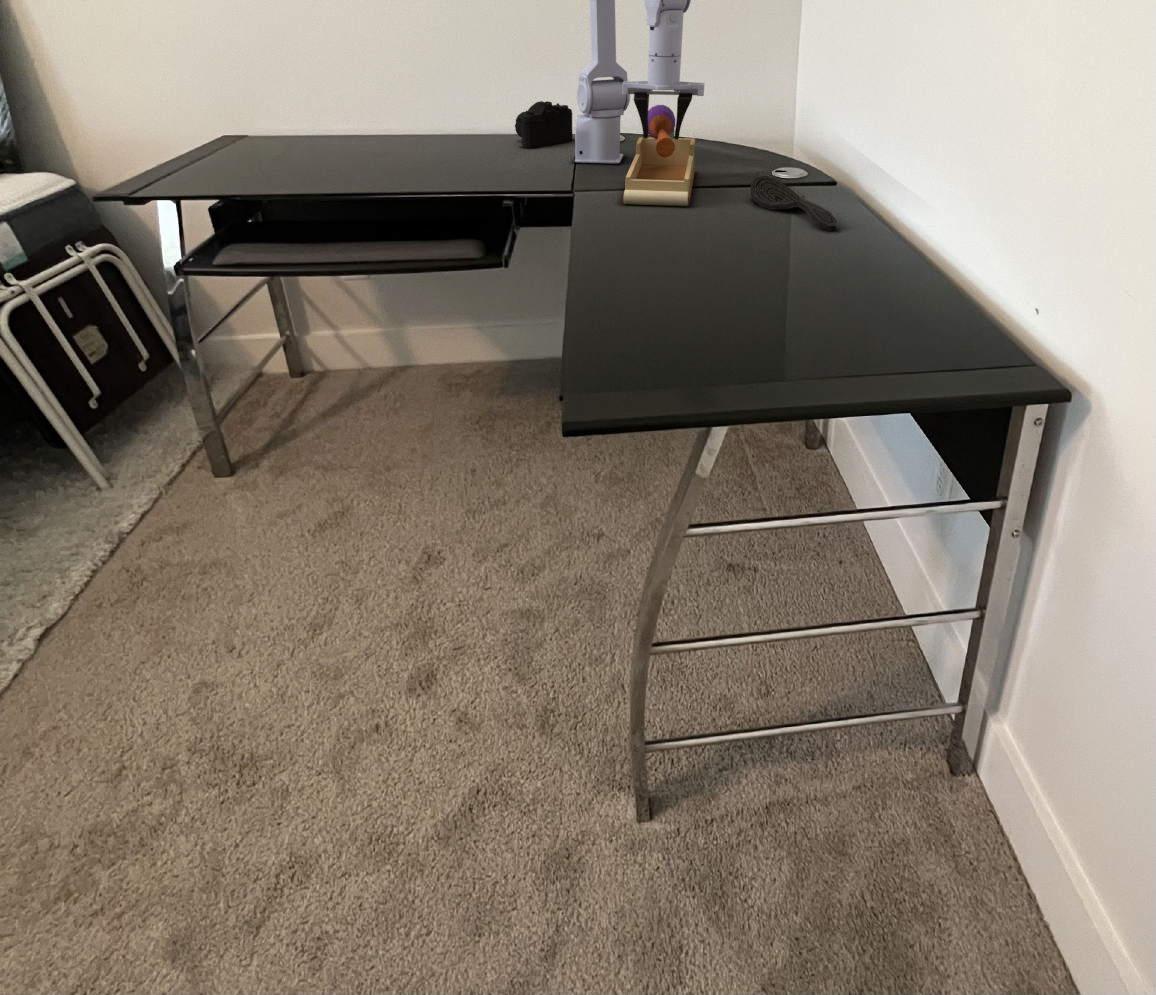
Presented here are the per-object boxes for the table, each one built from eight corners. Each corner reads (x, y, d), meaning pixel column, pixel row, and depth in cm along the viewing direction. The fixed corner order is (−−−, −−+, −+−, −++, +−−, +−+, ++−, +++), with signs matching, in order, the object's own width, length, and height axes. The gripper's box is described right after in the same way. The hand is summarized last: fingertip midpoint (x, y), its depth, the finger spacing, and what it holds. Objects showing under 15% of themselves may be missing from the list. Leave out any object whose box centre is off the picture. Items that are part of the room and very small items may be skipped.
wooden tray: (688, 207, 148) (692, 157, 143) (621, 205, 149) (623, 156, 145) (694, 172, 170) (697, 128, 165) (636, 170, 171) (637, 127, 167)
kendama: (645, 133, 146) (641, 105, 162) (651, 168, 149) (646, 137, 165) (680, 126, 145) (672, 98, 161) (684, 161, 148) (676, 130, 164)
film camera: (550, 134, 203) (550, 94, 198) (577, 140, 197) (577, 98, 192) (501, 143, 195) (499, 101, 190) (528, 150, 189) (526, 106, 184)
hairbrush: (812, 215, 133) (742, 172, 152) (808, 238, 135) (739, 193, 154) (858, 211, 135) (783, 169, 154) (853, 234, 137) (779, 189, 156)
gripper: (621, 57, 145) (619, 141, 153) (705, 58, 144) (699, 143, 151) (625, 52, 151) (623, 133, 159) (706, 53, 149) (701, 135, 157)
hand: (660, 137), depth 155 cm, fingers closed on kendama, 5 cm apart
